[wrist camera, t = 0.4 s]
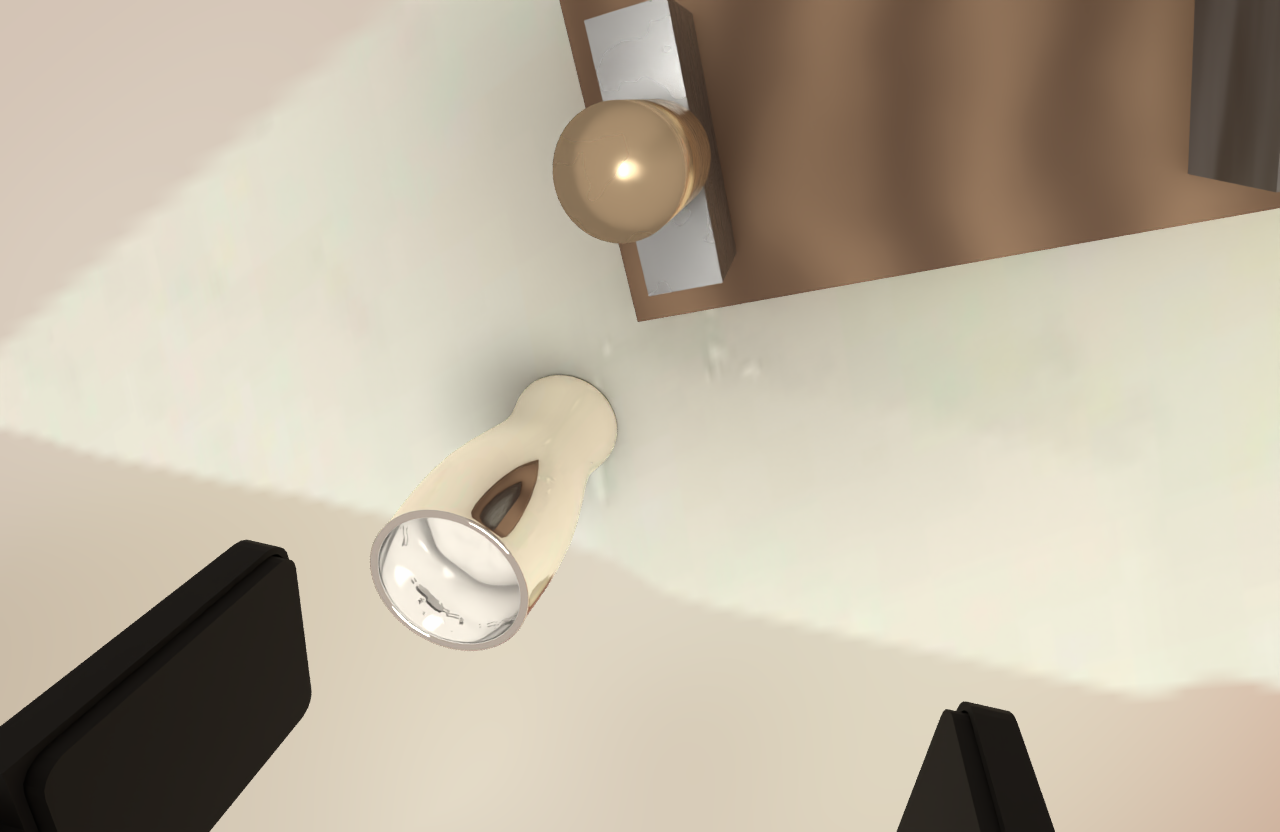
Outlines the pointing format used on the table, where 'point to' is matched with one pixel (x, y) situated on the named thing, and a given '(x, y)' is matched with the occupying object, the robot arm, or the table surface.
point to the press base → (965, 129)
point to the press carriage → (649, 150)
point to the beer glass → (494, 519)
